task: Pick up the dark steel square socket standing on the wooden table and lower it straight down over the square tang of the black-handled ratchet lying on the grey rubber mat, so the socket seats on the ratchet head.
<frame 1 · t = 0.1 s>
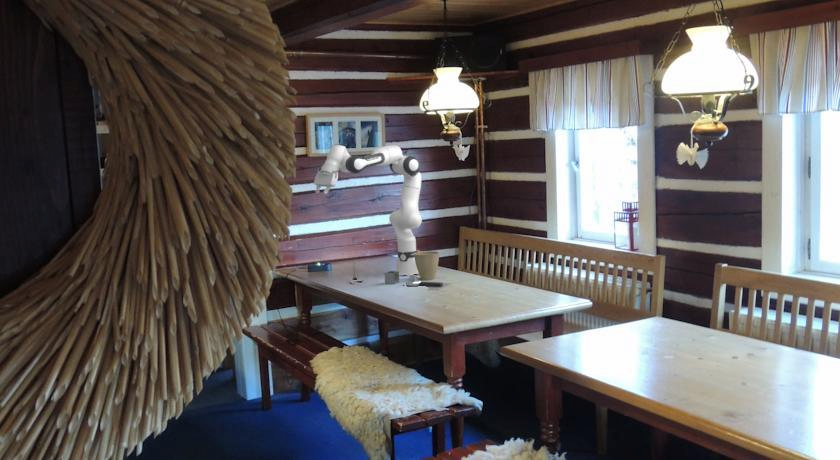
hand: (320, 193, 443), 54 cm above the table, tool tilted 30°, fingers open, 8 cm apart
plant pot: (428, 280, 458), on the table
tow hook: (357, 283, 461), on the table
socket: (392, 284, 450), on the table
ratchet: (426, 286, 436), resting on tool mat
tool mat: (423, 286, 437), on the table
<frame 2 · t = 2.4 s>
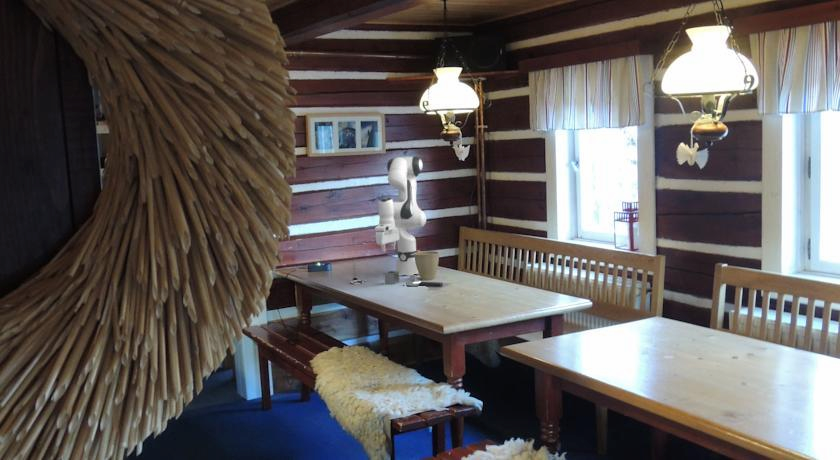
hand: (388, 250, 448), 20 cm above the table, tool pointing down, fingers open, 8 cm apart
nothing on the table moved.
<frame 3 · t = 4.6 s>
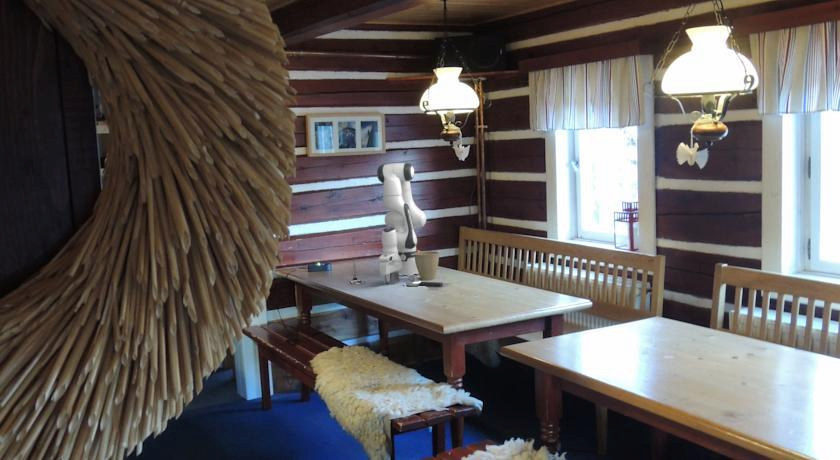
hand: (392, 280, 450), 2 cm above the table, tool pointing down, fingers closed on socket, 6 cm apart
socket: (392, 284, 450), on the table, touching gripper
everything else where it was.
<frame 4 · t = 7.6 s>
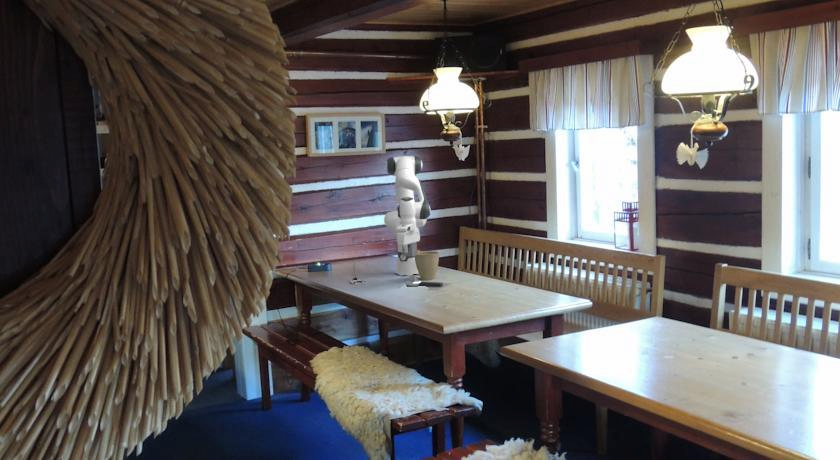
hand: (409, 251, 438), 20 cm above the table, tool pointing down, fingers closed on socket, 6 cm apart
socket: (410, 255, 438), point 17 cm above the table, touching gripper
everything else where it was.
when the fingers open (6 cm above the table, at t = 10.4 s): socket stays where it is, resting on ratchet.
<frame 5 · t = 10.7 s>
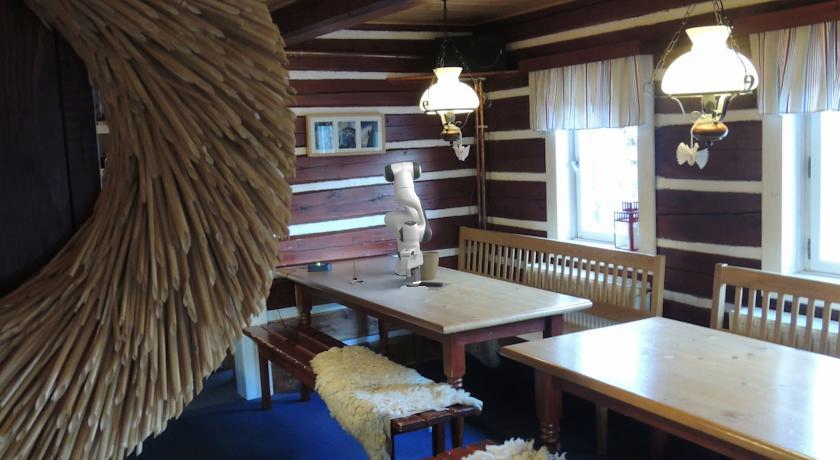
hand: (413, 275, 439), 6 cm above the table, tool pointing down, fingers open, 8 cm apart
socket: (413, 281, 439), point 3 cm above the table, touching ratchet
everything else where it was.
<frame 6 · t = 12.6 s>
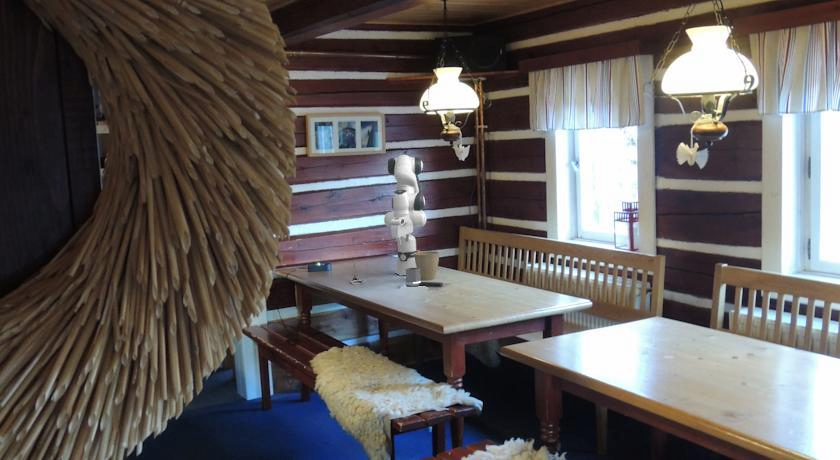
hand: (403, 243, 444), 24 cm above the table, tool pointing down, fingers open, 8 cm apart
nothing on the table moved.
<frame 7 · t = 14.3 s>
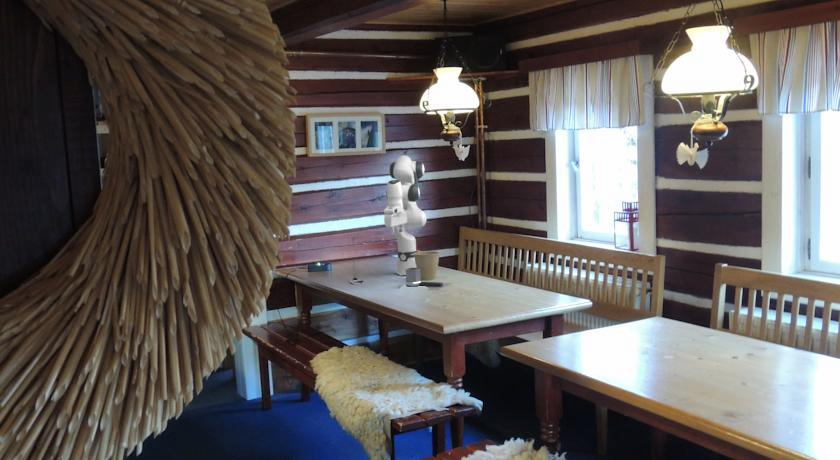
hand: (397, 233, 447), 29 cm above the table, tool pointing down, fingers open, 8 cm apart
nothing on the table moved.
at the end: socket 0.1 cm from the target spot, point 3.1 cm above the table; socket tilted 0°; the gripper is holding nothing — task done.
